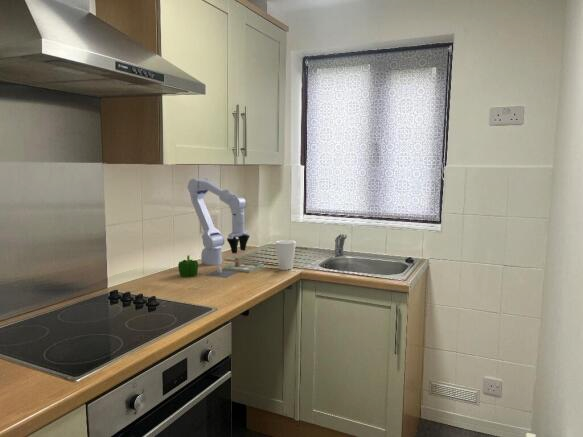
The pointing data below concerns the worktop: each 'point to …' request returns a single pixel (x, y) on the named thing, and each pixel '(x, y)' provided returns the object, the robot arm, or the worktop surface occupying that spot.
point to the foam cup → (285, 253)
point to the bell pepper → (188, 268)
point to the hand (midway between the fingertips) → (238, 251)
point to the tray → (244, 269)
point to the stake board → (221, 273)
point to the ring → (238, 265)
